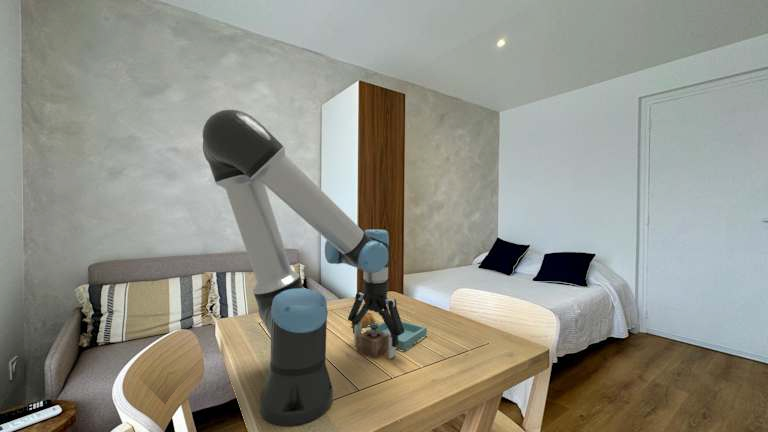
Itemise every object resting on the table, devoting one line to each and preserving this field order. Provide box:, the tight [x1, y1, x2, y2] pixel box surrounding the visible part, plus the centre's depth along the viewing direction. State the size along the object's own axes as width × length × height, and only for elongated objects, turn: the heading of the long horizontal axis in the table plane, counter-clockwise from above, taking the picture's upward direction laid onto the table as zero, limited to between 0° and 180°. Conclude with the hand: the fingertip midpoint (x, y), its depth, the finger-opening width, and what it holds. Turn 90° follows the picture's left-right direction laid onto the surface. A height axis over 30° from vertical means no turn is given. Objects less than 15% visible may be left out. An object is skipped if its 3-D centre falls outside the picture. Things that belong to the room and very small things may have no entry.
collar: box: [356, 330, 390, 360], centre depth 89 cm, size 7×7×5 cm
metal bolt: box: [369, 322, 380, 338], centre depth 89 cm, size 3×3×8 cm
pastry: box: [351, 312, 377, 328], centre depth 111 cm, size 9×7×4 cm
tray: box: [365, 320, 428, 352], centre depth 100 cm, size 15×15×3 cm
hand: (374, 350), depth 89 cm, fingers open, 12 cm apart
